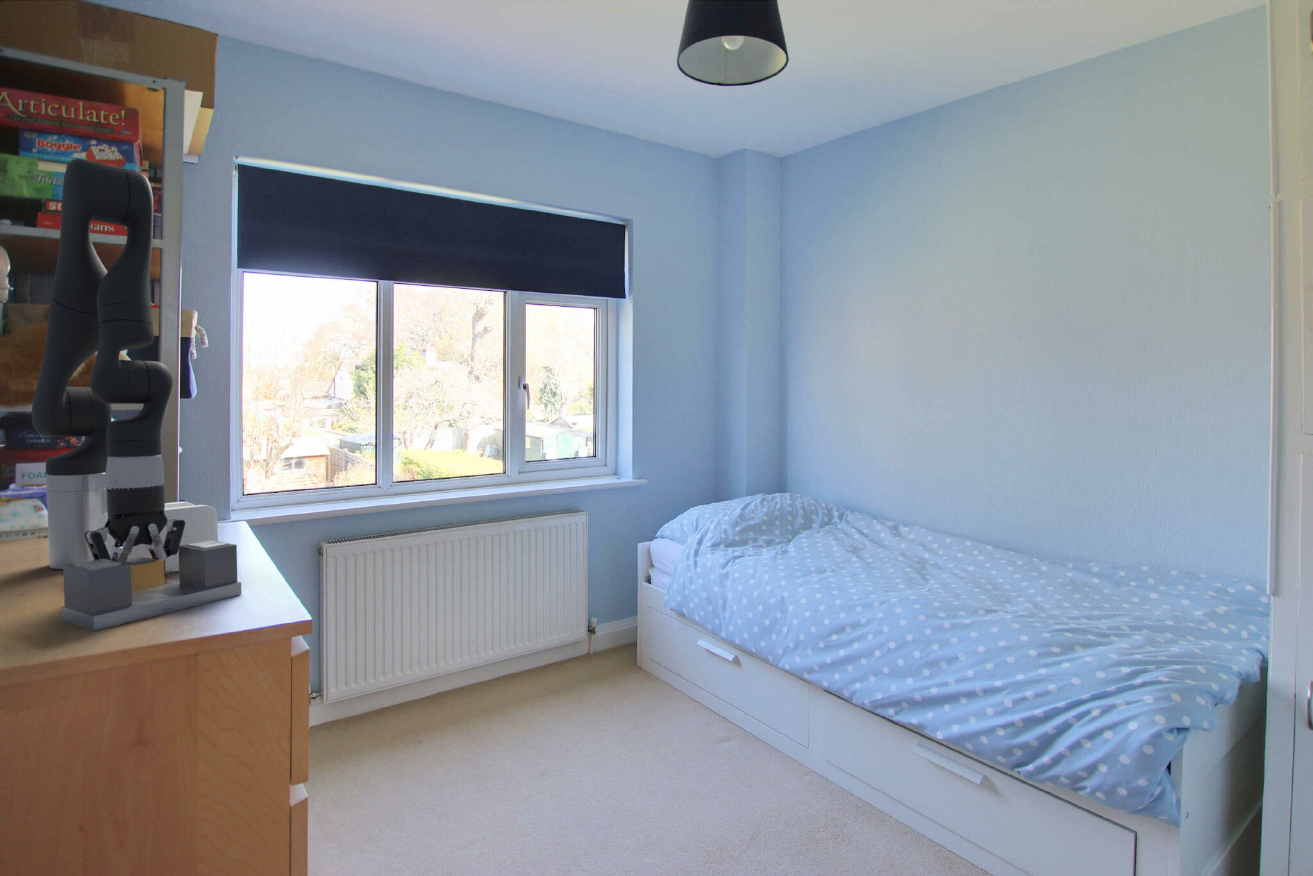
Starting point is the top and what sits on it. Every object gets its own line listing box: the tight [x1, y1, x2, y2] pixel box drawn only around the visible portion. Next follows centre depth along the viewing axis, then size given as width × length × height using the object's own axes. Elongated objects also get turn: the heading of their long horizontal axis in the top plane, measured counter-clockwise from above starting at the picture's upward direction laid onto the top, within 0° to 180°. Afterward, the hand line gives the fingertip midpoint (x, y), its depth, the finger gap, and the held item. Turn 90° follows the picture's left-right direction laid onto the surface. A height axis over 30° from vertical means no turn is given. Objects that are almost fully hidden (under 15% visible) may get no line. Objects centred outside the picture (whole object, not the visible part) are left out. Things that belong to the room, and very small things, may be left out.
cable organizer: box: [101, 501, 219, 574], centre depth 126 cm, size 15×11×12 cm
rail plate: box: [60, 540, 242, 632], centre depth 103 cm, size 9×20×8 cm, turn 153°
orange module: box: [126, 556, 165, 592], centre depth 112 cm, size 6×4×5 cm
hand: (139, 586), depth 113 cm, fingers closed on orange module, 4 cm apart
